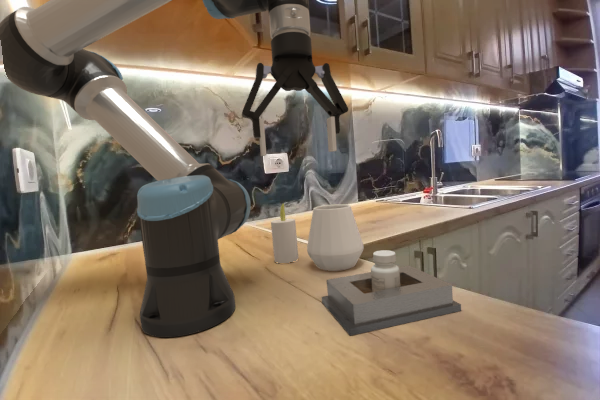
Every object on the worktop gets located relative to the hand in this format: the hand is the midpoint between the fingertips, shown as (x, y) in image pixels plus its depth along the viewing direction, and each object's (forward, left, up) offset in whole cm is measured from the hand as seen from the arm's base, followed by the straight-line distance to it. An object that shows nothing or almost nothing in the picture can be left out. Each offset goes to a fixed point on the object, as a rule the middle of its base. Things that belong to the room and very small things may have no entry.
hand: (298, 153), depth 61 cm
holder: (+9, -15, -26) cm, 31 cm away
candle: (0, +20, -26) cm, 33 cm away
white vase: (+10, +10, -26) cm, 30 cm away
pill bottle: (+9, -15, -25) cm, 31 cm away
